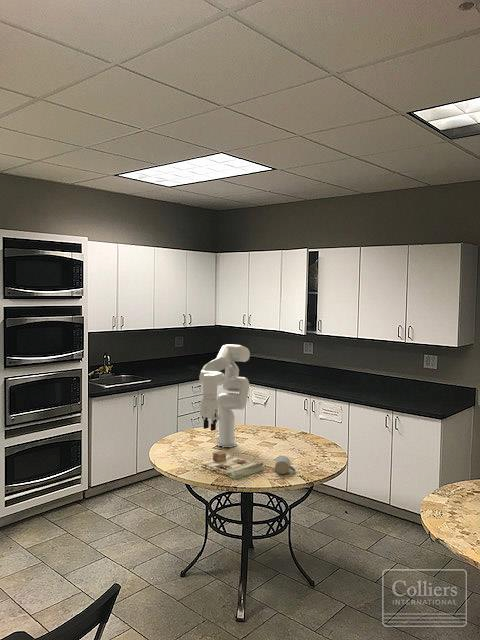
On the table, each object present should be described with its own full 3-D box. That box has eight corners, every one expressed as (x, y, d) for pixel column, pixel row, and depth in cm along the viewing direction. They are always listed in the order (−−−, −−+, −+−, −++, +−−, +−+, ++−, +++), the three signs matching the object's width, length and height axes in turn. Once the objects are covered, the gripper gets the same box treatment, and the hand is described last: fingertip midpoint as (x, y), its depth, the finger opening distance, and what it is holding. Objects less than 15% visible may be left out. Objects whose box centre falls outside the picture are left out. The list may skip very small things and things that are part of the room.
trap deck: (201, 466, 280) (201, 459, 280) (228, 458, 295) (228, 451, 294) (235, 479, 262) (235, 471, 262) (262, 469, 276) (263, 462, 276)
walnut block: (212, 460, 285) (212, 452, 285) (219, 458, 288) (219, 450, 288) (219, 462, 281) (219, 454, 281) (226, 460, 285) (226, 452, 285)
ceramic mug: (274, 474, 269) (275, 459, 269) (275, 469, 277) (275, 454, 277) (295, 476, 268) (296, 461, 268) (295, 470, 276) (296, 456, 276)
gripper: (194, 395, 292) (194, 427, 293) (215, 399, 280) (215, 433, 281) (204, 393, 297) (204, 425, 298) (225, 397, 285) (225, 431, 286)
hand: (209, 429), depth 290 cm, fingers open, 5 cm apart
